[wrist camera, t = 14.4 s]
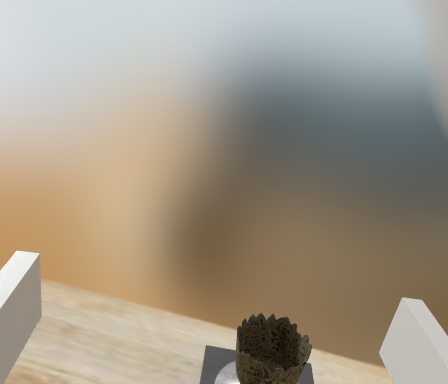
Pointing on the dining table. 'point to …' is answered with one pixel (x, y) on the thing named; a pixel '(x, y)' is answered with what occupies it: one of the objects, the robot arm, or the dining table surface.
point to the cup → (270, 351)
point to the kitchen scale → (233, 368)
